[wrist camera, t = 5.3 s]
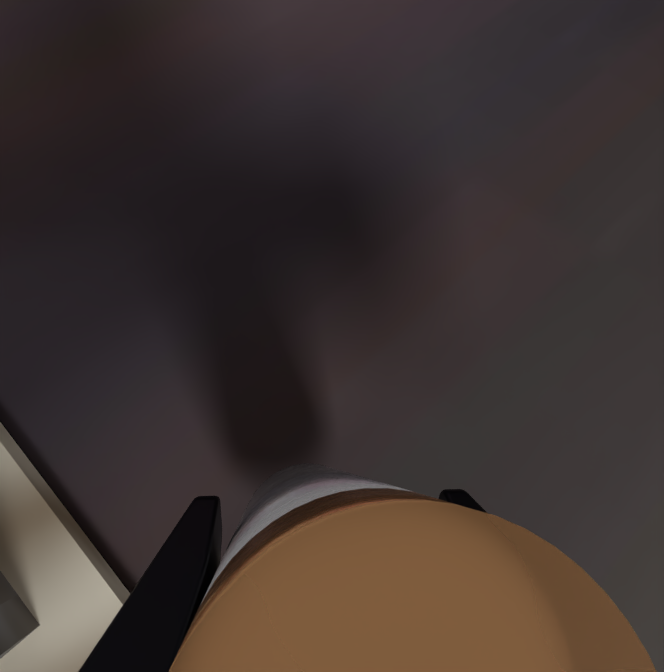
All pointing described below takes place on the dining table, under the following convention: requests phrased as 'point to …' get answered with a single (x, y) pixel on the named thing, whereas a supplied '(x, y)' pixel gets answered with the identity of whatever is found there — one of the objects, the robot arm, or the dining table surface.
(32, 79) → the dining table surface
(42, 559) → the block
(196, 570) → the robot arm
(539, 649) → the pin
